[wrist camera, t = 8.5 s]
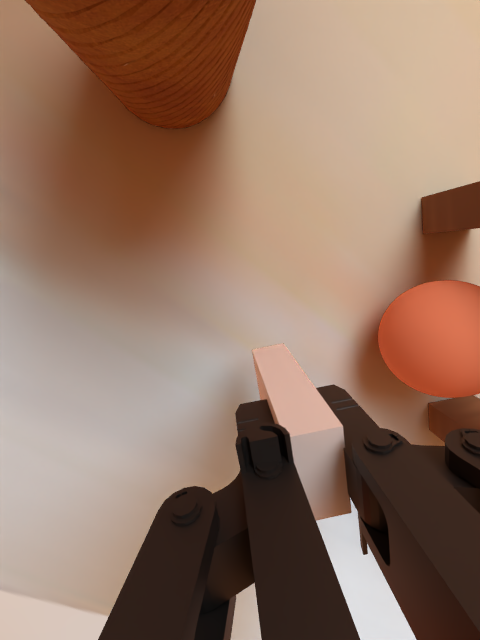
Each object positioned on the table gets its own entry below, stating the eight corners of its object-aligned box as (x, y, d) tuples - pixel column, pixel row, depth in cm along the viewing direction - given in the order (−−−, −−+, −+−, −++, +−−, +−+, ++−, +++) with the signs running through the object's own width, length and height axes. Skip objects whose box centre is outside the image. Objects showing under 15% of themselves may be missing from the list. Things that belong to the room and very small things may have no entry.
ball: (457, 263, 17) (354, 300, 19) (533, 258, 12) (376, 312, 13) (490, 357, 18) (386, 386, 19) (579, 398, 12) (421, 434, 13)
